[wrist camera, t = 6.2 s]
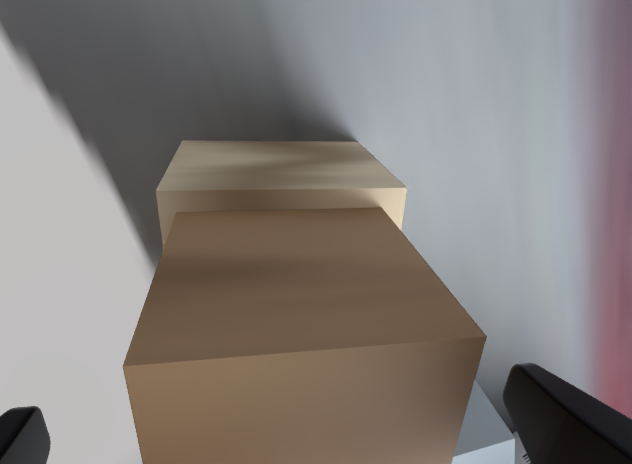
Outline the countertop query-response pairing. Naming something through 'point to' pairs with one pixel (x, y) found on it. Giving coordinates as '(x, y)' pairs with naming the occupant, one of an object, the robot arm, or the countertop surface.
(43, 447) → the robot arm
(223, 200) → the maple block
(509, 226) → the countertop surface
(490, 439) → the slate cube
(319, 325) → the walnut cube
